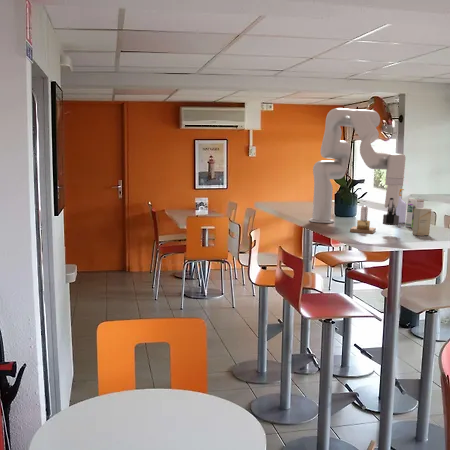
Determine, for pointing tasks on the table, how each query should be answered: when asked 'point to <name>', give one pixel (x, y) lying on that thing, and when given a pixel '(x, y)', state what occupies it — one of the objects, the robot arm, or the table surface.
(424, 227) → the skincare box
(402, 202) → the soap bottle
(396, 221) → the ring
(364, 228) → the post stand
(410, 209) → the syrup box
